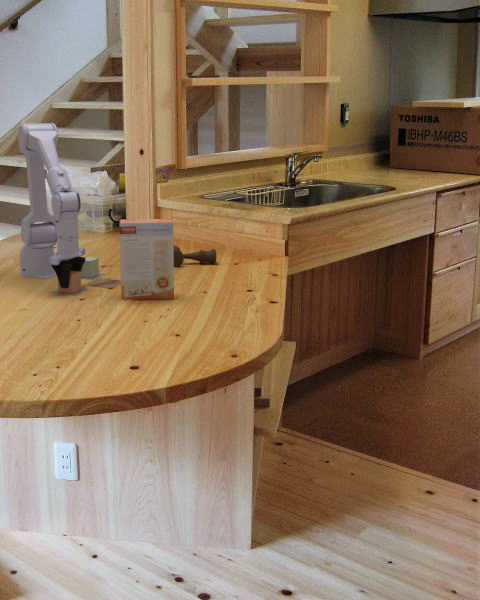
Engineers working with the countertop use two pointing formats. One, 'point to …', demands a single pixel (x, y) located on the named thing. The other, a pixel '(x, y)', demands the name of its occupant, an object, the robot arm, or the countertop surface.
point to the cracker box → (146, 259)
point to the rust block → (72, 283)
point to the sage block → (90, 267)
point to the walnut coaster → (104, 283)
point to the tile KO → (70, 293)
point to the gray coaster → (94, 277)
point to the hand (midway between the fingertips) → (69, 285)
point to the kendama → (193, 256)
